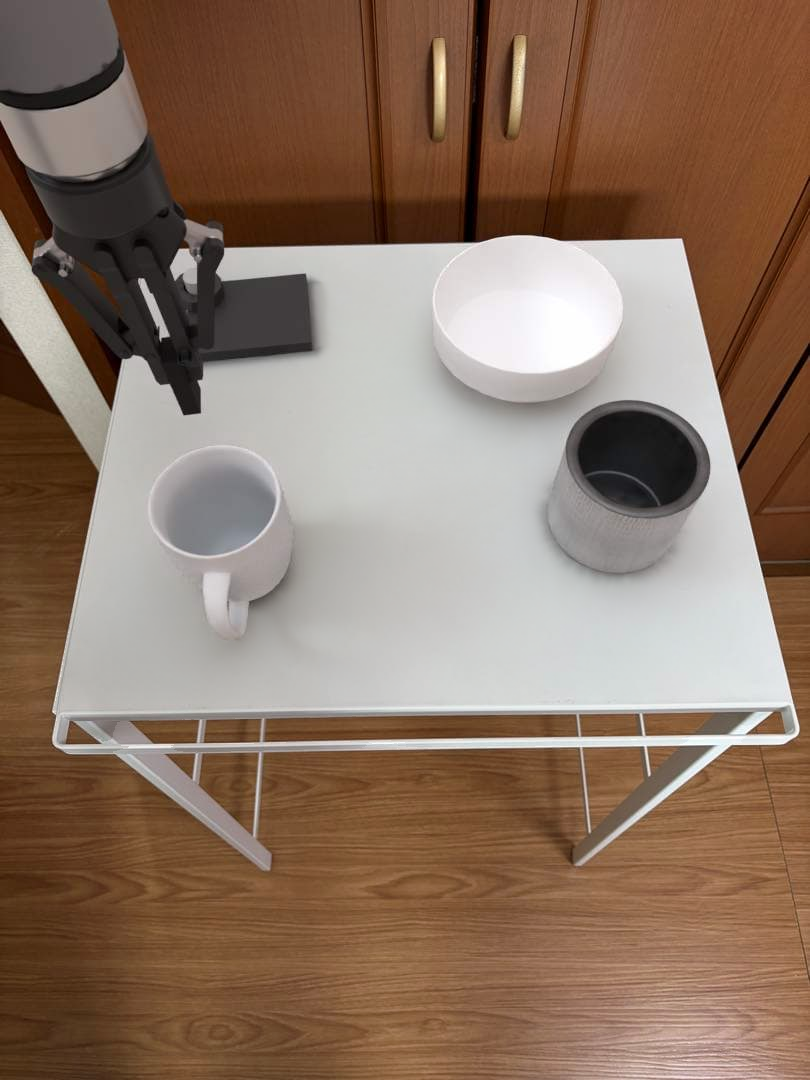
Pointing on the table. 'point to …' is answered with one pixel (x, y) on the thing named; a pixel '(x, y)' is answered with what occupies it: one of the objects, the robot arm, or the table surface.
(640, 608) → the table surface
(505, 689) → the table surface
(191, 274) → the button
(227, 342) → the scale
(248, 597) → the mug
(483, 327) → the bowl
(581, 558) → the planter
